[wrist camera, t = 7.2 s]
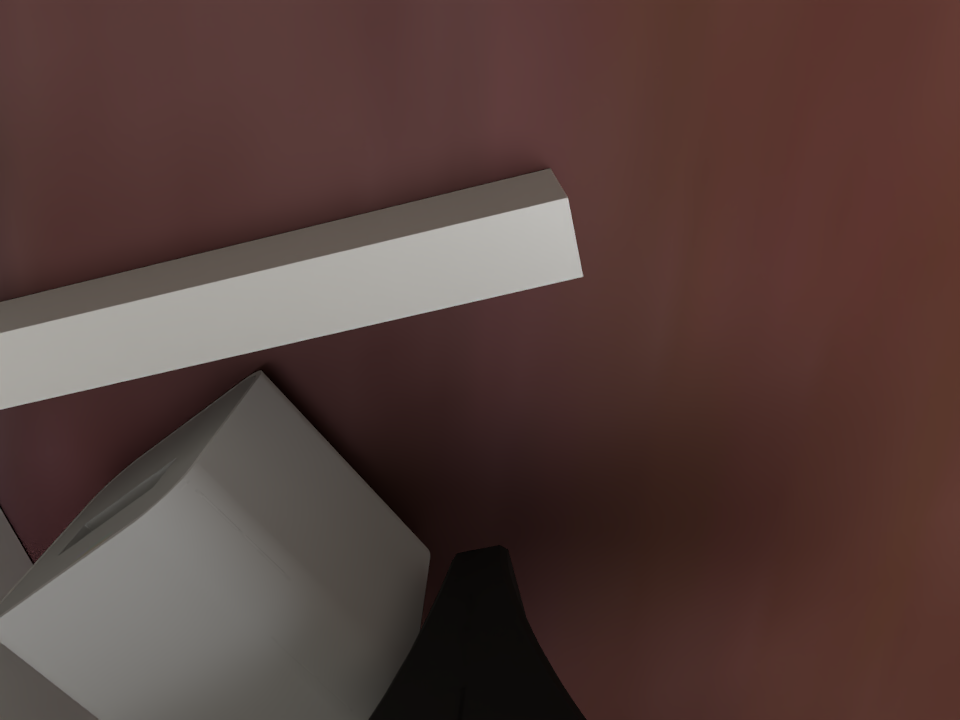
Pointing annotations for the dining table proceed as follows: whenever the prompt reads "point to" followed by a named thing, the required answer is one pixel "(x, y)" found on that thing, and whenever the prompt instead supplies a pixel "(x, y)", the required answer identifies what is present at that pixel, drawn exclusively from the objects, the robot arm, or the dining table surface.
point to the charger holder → (268, 317)
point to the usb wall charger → (226, 579)
